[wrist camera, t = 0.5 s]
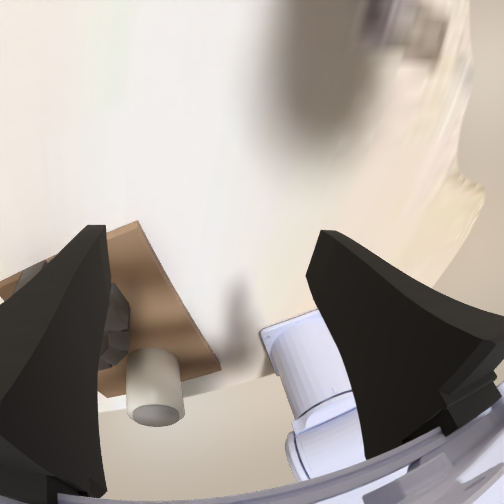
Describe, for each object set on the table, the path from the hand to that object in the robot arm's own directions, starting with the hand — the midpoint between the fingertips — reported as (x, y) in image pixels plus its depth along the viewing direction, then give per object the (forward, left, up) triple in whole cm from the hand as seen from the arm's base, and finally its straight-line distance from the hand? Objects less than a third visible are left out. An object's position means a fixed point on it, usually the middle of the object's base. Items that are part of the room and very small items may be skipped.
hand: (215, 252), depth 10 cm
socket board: (-12, +12, -10) cm, 19 cm away
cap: (-16, +10, -9) cm, 21 cm away
